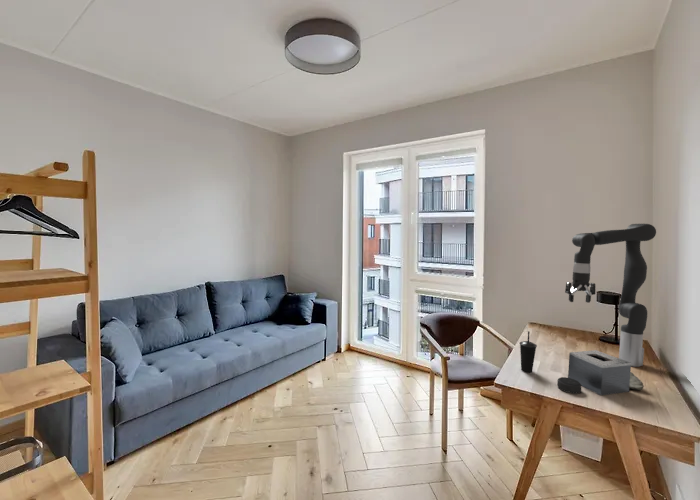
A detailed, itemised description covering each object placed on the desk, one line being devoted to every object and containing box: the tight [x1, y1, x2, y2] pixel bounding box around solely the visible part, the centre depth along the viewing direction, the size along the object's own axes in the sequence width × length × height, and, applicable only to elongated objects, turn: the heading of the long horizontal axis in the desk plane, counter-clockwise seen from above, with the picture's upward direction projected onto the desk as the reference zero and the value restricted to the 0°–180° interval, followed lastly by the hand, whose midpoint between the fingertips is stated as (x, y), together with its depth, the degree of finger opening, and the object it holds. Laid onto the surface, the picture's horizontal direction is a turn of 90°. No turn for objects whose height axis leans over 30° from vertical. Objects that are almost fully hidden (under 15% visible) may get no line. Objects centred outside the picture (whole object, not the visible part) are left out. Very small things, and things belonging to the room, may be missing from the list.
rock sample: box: [629, 371, 645, 391], centre depth 152 cm, size 10×8×9 cm
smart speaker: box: [556, 376, 582, 394], centre depth 148 cm, size 9×9×4 cm
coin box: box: [567, 349, 632, 396], centre depth 153 cm, size 16×16×13 cm
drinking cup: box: [519, 331, 538, 374], centre depth 167 cm, size 8×8×20 cm
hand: (579, 302), depth 177 cm, fingers open, 8 cm apart
